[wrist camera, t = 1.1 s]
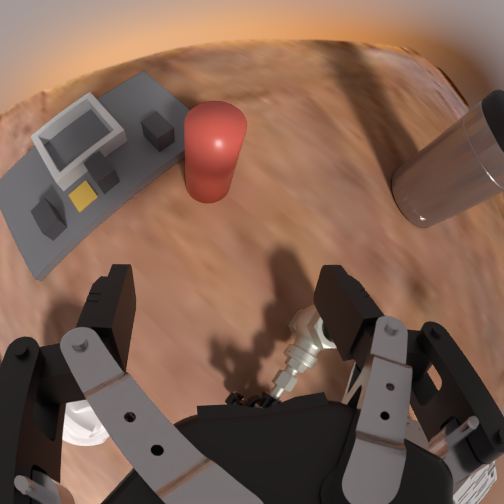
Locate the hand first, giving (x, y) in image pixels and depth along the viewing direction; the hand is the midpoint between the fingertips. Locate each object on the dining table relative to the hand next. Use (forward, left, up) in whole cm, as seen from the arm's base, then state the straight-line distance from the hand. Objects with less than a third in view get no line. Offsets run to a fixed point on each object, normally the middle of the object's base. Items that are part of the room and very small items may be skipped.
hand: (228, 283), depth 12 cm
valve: (-1, +9, -16) cm, 18 cm away
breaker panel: (0, -20, -15) cm, 25 cm away
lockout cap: (-8, -9, -15) cm, 19 cm away
